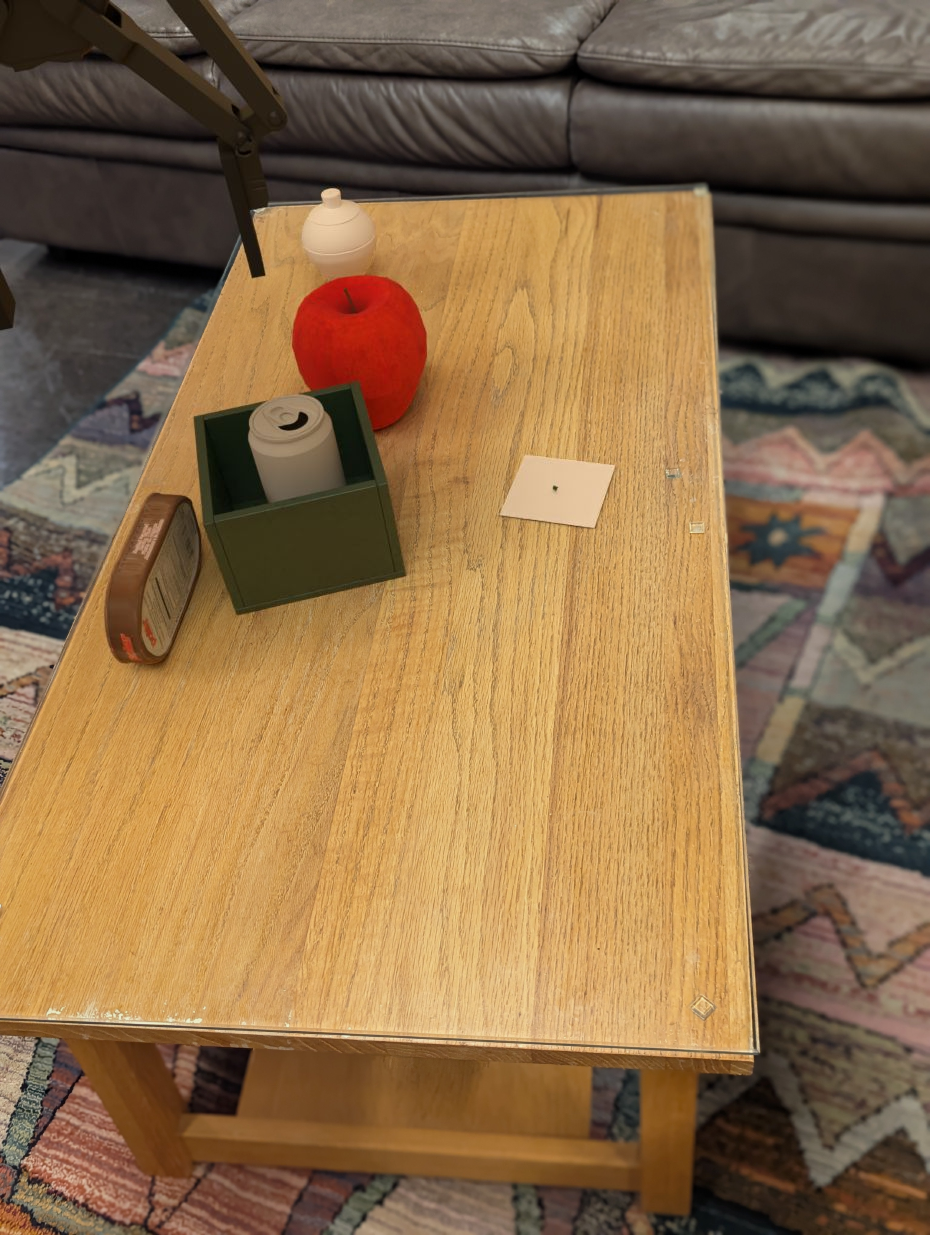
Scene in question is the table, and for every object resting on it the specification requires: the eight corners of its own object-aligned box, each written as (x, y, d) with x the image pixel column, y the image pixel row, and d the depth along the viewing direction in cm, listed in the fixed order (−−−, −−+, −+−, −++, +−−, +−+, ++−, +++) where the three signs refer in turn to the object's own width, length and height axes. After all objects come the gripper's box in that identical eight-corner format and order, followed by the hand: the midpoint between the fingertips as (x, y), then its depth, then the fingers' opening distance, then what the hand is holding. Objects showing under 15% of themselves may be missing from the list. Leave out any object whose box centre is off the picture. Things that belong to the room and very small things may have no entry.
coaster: (615, 465, 92) (615, 458, 91) (594, 528, 87) (594, 520, 86) (524, 454, 94) (524, 447, 93) (499, 515, 89) (498, 507, 88)
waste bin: (236, 615, 84) (202, 524, 77) (224, 506, 94) (193, 416, 87) (406, 576, 85) (387, 482, 78) (377, 471, 95) (358, 380, 88)
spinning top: (397, 306, 113) (379, 196, 104) (328, 328, 111) (304, 218, 103) (373, 274, 118) (354, 166, 109) (307, 294, 116) (282, 187, 108)
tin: (180, 547, 90) (149, 469, 84) (216, 547, 90) (187, 468, 84) (125, 687, 80) (84, 610, 74) (165, 688, 80) (128, 610, 74)
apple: (393, 363, 106) (370, 236, 96) (463, 416, 99) (447, 284, 89) (289, 414, 102) (255, 287, 92) (355, 473, 95) (326, 342, 85)
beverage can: (316, 572, 86) (282, 453, 77) (264, 539, 89) (226, 422, 80) (372, 527, 89) (346, 408, 80) (319, 498, 92) (288, 380, 83)
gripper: (260, -252, 47) (347, 214, 62) (-334, -154, 45) (-91, 303, 60) (278, -223, 42) (368, 277, 57) (-392, -110, 40) (-110, 377, 55)
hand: (133, 291), depth 59 cm, fingers open, 13 cm apart
